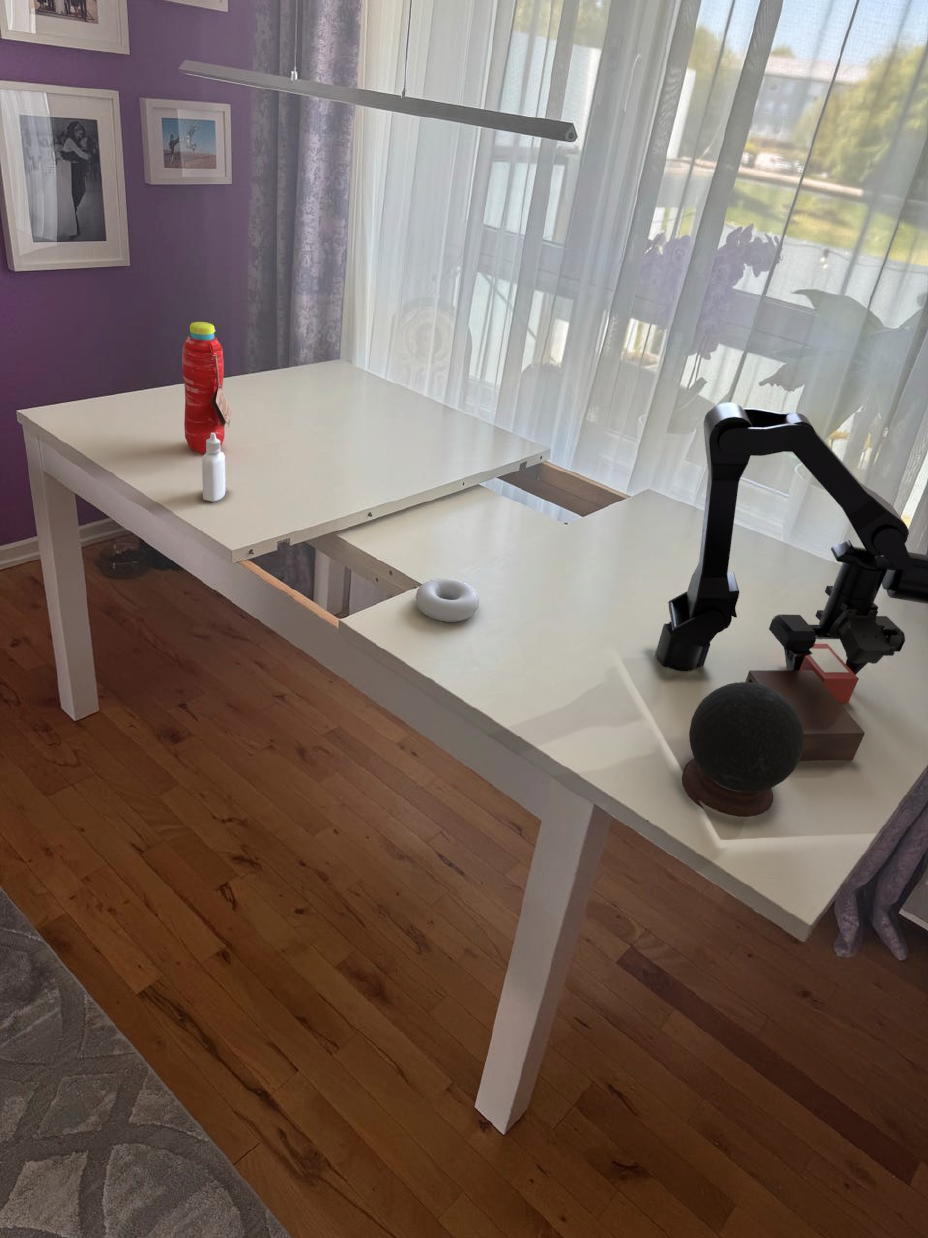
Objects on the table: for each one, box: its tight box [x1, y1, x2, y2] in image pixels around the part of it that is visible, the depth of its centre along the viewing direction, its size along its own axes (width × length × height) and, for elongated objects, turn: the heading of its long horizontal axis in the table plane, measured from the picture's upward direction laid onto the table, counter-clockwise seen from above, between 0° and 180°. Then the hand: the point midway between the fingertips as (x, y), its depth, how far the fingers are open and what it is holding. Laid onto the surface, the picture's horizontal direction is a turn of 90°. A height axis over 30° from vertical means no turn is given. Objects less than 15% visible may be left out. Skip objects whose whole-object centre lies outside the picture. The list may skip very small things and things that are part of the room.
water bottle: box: [181, 321, 233, 455], centre depth 176 cm, size 12×8×25 cm, turn 46°
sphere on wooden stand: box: [681, 681, 804, 818], centre depth 110 cm, size 13×13×15 cm
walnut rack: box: [744, 669, 866, 762], centre depth 124 cm, size 10×14×5 cm
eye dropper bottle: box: [201, 433, 226, 502], centre depth 162 cm, size 4×6×12 cm
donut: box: [414, 577, 480, 623], centre depth 141 cm, size 10×4×10 cm
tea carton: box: [800, 643, 859, 703], centre depth 135 cm, size 6×9×5 cm, turn 10°
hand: (818, 680), depth 135 cm, fingers open, 9 cm apart
